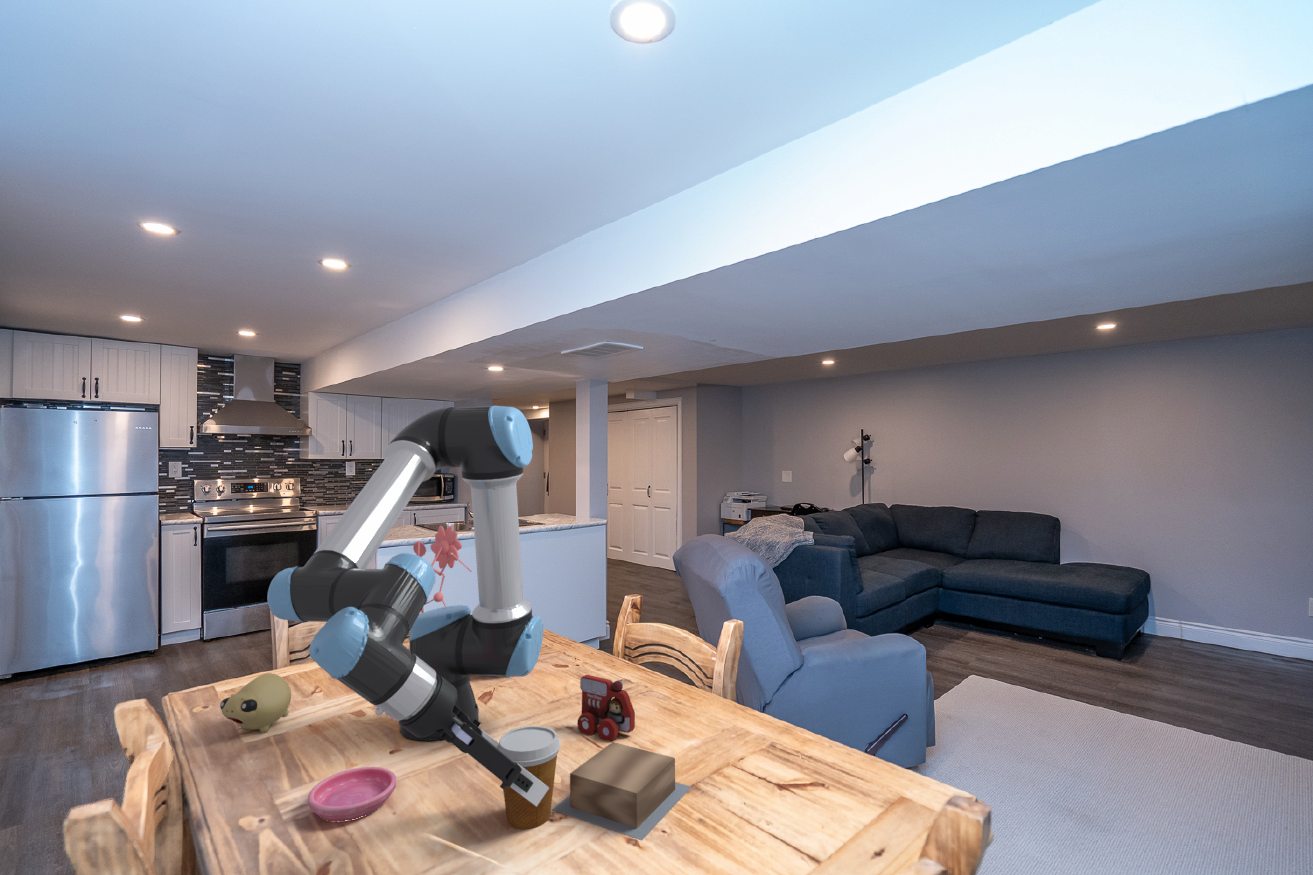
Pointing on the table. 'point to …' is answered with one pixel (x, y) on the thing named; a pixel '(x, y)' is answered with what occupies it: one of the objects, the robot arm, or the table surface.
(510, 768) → the robot arm
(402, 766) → the table surface
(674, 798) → the mat
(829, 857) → the table surface
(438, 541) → the figurine
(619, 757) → the pedestal
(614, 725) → the toy fire truck
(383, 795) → the saucer
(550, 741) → the disposable coffee cup
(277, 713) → the green toy animal
